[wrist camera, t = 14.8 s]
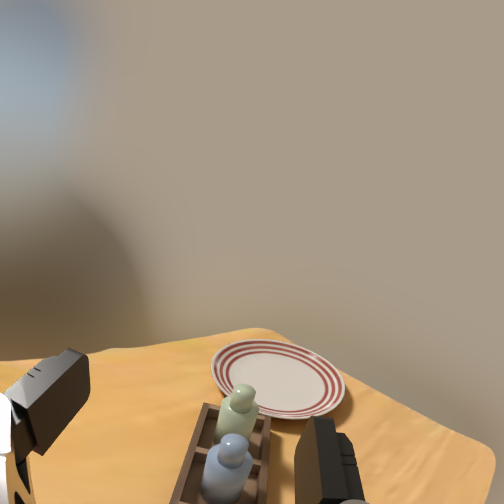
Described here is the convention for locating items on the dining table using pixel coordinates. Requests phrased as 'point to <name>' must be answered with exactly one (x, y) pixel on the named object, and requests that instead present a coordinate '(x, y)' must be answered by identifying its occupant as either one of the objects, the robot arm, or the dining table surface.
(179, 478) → the caddy
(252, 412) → the green bottle
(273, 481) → the dining table surface
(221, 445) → the blue bottle
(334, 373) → the dinner plate
